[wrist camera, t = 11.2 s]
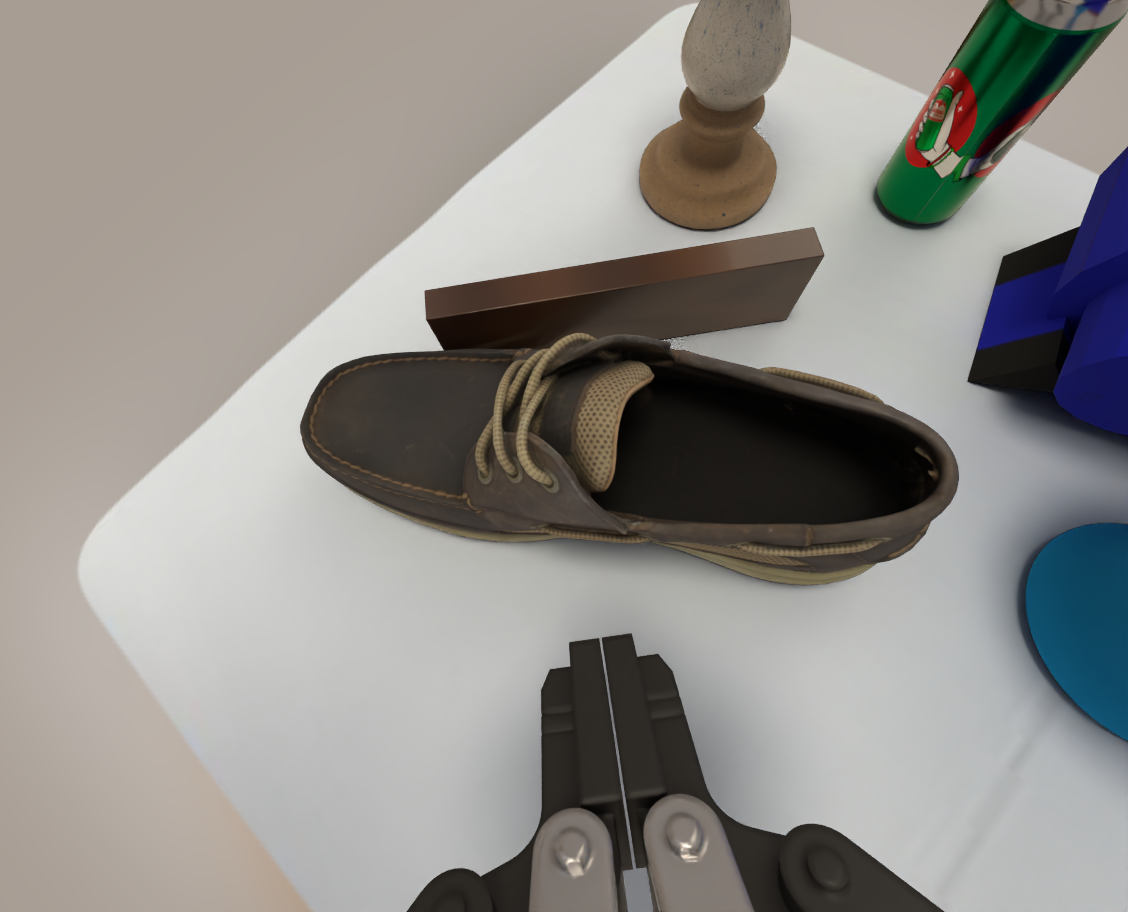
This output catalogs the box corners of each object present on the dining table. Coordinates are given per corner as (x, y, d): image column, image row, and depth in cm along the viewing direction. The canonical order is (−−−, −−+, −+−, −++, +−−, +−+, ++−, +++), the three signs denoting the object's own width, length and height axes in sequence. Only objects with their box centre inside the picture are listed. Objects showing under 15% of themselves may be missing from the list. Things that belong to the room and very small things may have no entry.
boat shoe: (372, 354, 31) (260, 224, 21) (868, 397, 28) (1020, 267, 18) (322, 527, 28) (161, 471, 18) (880, 599, 25) (1075, 582, 14)
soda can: (962, 177, 32) (1159, -67, 21) (951, 238, 31) (1154, 12, 19) (880, 160, 33) (1025, -82, 22) (865, 219, 32) (1011, -7, 20)
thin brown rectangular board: (778, 294, 30) (814, 226, 25) (786, 319, 30) (825, 255, 25) (454, 346, 31) (424, 290, 26) (456, 372, 30) (425, 319, 25)
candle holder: (745, 249, 32) (964, -332, 12) (617, 207, 33) (637, -357, 14) (790, 151, 34) (1036, -469, 15) (668, 117, 36) (746, -475, 16)
